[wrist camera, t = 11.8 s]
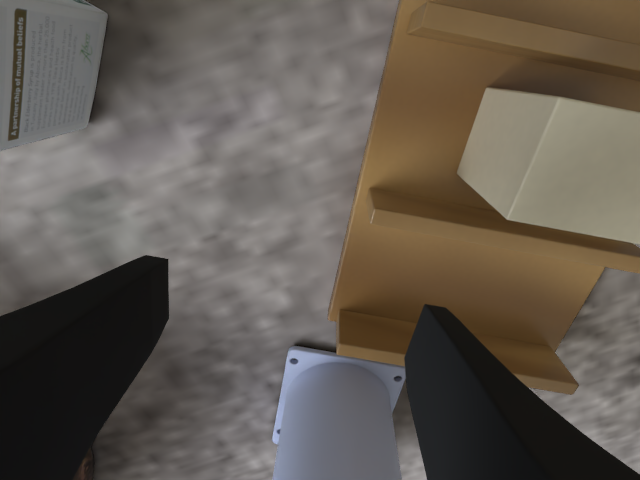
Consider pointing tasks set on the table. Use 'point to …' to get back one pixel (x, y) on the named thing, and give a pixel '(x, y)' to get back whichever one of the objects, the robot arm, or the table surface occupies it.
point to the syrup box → (47, 67)
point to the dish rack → (460, 198)
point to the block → (557, 163)
